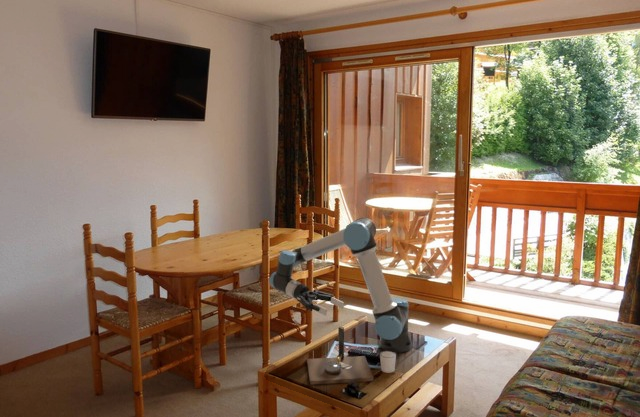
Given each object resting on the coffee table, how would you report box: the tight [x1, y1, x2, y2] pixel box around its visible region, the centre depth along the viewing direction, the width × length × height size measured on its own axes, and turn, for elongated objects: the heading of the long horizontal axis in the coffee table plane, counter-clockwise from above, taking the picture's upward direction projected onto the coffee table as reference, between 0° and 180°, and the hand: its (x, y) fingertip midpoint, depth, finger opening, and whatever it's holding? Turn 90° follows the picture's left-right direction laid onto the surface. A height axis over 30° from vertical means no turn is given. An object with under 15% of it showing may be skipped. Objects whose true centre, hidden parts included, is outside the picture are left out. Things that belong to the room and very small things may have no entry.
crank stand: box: [306, 355, 375, 385], centre depth 208 cm, size 26×20×2 cm
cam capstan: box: [324, 326, 345, 374], centre depth 208 cm, size 17×7×14 cm, turn 160°
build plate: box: [339, 381, 368, 401], centre depth 190 cm, size 12×7×5 cm, turn 55°
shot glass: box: [379, 350, 397, 374], centre depth 208 cm, size 7×7×7 cm
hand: (334, 308), depth 216 cm, fingers open, 13 cm apart
